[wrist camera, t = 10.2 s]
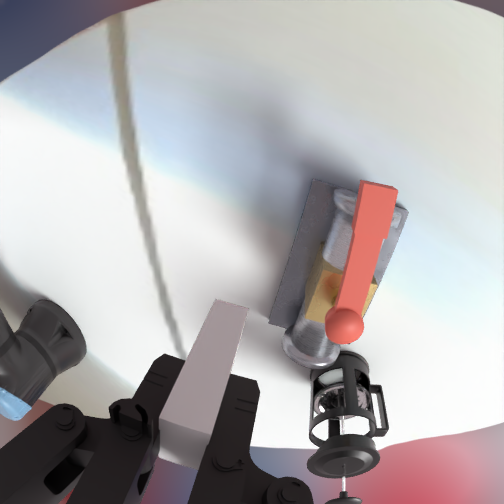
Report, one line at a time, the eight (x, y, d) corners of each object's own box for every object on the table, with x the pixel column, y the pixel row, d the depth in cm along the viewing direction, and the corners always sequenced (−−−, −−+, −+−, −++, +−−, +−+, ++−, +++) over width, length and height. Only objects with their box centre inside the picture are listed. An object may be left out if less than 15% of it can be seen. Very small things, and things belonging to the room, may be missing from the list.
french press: (301, 389, 47) (288, 515, 26) (311, 347, 44) (304, 490, 23) (368, 394, 46) (379, 515, 25) (386, 354, 42) (413, 488, 21)
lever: (355, 336, 29) (357, 346, 27) (320, 331, 29) (321, 341, 28) (397, 187, 23) (402, 191, 21) (355, 178, 23) (358, 182, 22)
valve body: (348, 339, 42) (355, 393, 33) (269, 319, 43) (257, 371, 33) (406, 209, 34) (439, 240, 24) (313, 178, 34) (316, 199, 25)
